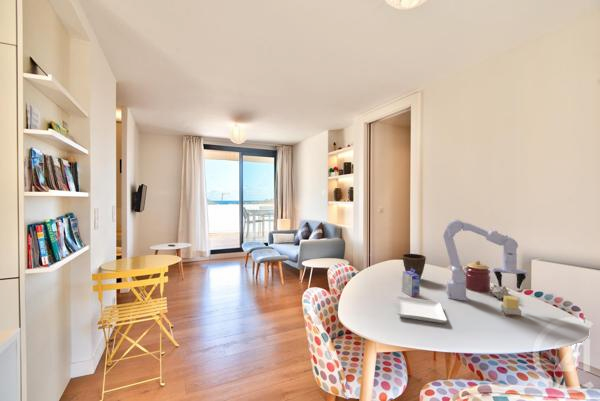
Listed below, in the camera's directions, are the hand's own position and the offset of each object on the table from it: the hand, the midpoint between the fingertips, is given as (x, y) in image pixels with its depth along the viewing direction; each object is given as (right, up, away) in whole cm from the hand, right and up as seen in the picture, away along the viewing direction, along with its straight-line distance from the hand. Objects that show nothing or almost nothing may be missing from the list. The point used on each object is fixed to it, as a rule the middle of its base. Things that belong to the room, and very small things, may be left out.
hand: (509, 287), depth 134 cm
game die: (+3, -10, +11) cm, 15 cm away
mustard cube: (-6, -7, -9) cm, 13 cm away
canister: (+1, -10, +26) cm, 28 cm away
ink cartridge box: (-43, -10, +19) cm, 48 cm away
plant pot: (-30, -10, +45) cm, 55 cm away
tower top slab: (-6, -9, -9) cm, 14 cm away
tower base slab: (-6, -11, -9) cm, 15 cm away
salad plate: (-49, -12, -6) cm, 51 cm away
